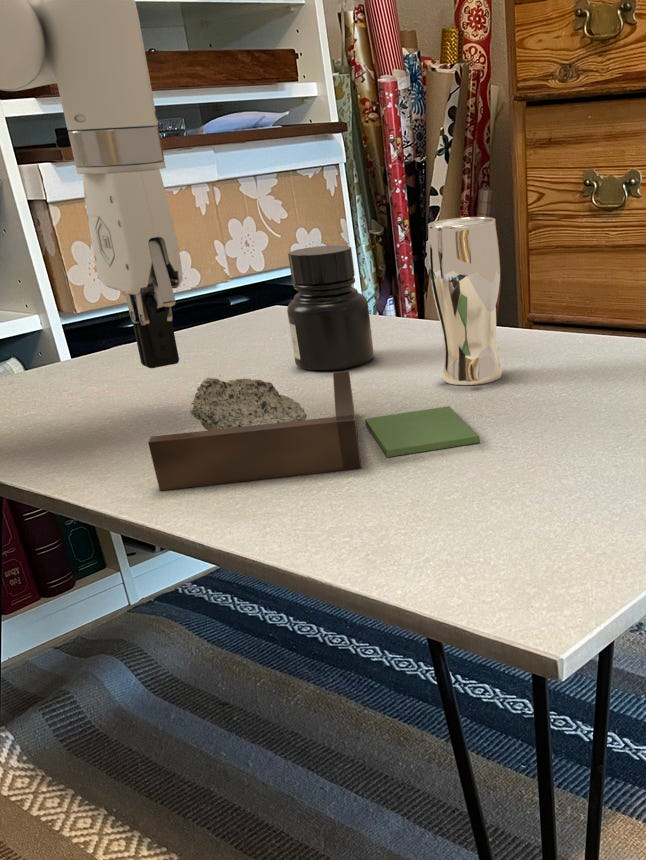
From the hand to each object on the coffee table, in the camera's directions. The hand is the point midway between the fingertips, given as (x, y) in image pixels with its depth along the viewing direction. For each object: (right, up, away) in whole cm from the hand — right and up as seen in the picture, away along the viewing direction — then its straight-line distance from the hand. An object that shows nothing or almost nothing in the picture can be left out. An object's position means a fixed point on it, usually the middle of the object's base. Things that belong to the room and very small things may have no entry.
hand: (160, 364), depth 94 cm
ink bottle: (+14, +5, +17) cm, 23 cm away
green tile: (+26, -8, -8) cm, 28 cm away
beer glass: (+30, 0, +7) cm, 31 cm away
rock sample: (+12, -9, -7) cm, 17 cm away
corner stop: (+12, -10, -9) cm, 18 cm away
